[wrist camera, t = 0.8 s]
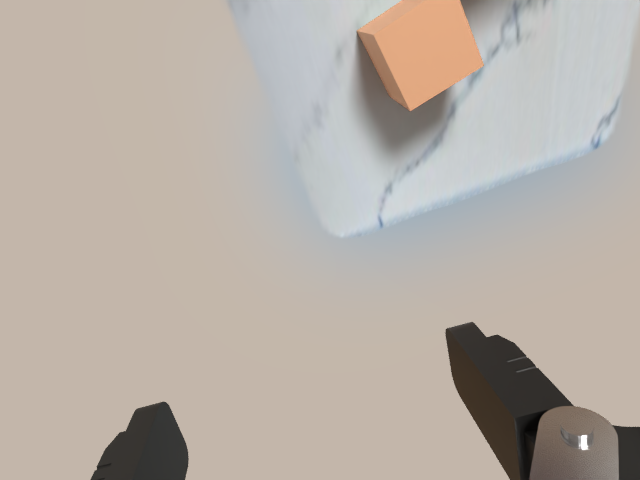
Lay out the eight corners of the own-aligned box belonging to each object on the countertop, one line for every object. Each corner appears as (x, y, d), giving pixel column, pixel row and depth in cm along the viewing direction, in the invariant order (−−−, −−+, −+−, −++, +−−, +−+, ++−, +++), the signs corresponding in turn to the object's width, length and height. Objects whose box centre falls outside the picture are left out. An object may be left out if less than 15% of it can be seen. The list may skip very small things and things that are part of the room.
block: (356, 30, 32) (373, 34, 27) (423, -15, 31) (453, -19, 26) (389, 96, 34) (410, 111, 29) (451, 57, 33) (483, 65, 28)
